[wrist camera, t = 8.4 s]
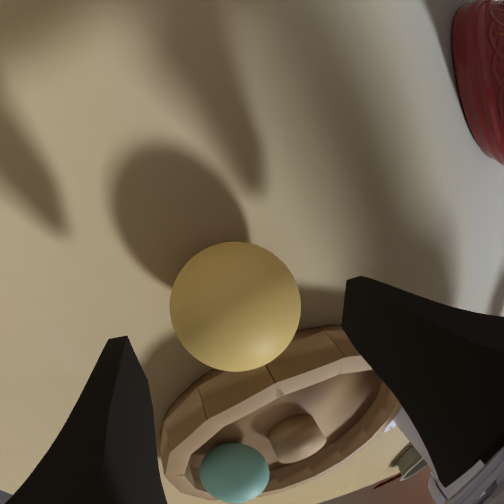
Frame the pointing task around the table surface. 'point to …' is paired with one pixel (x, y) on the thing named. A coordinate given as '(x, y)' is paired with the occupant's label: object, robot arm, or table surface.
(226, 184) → the table surface
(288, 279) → the bead ochre
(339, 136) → the table surface
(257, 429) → the groove tray
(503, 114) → the canister
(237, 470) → the bead teal
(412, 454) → the cake pan
